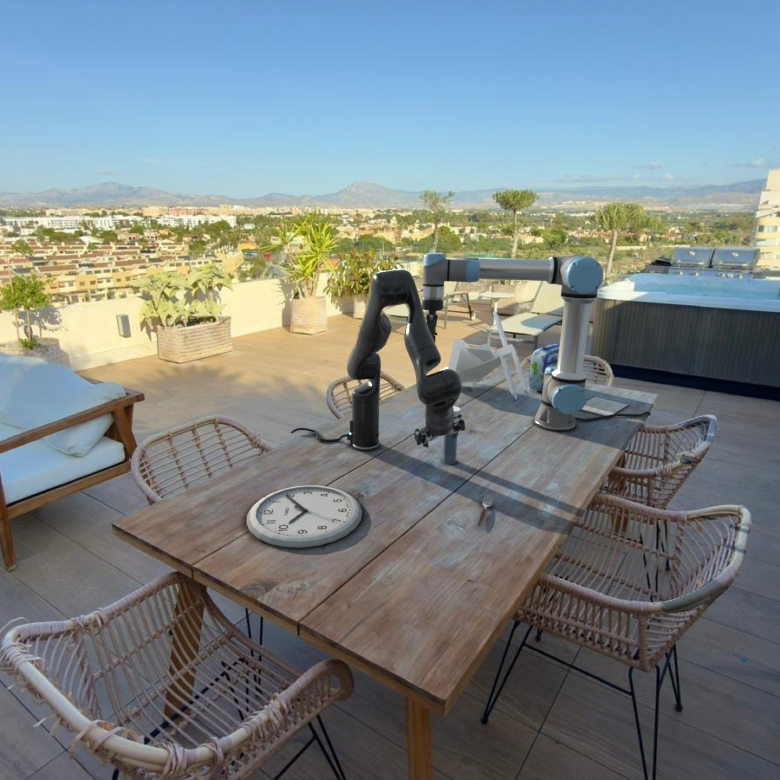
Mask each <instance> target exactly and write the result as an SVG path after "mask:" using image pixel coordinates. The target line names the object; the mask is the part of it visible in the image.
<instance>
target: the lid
mask: <svg viewBox="0 0 780 780" xmlns="http://www.w3.org/2000/svg"><path fill="white" fill-rule="evenodd" d="M453 410H454V417H457V416H458V415H461V408H460V407H459V406H455V405H453Z"/></svg>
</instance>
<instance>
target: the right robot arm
mask: <svg viewBox="0 0 780 780" xmlns="http://www.w3.org/2000/svg"><path fill="white" fill-rule="evenodd" d="M422 264H423V265H422V288H420V292H421V293H422V294H421V296H422V299H421V304H422V308H423V311H428V313H426V316H425V319H426V323H427V326H428V329H429V331H430V334H431V336H432V338H433V340H434V342H435V343H436V338H437V337H436V336H438V332H437V329H436V328H437V324H438V318H439V315H438V314H437V311H438V312H439V311H442V310H444V299H443V298H444V297H445V282H447V283H449V282H452V283H453V282H457V283H468V284H470V283H477V282H479V281H480V280H495V281H497V280H499V281H500V280H501V281H526V282H527V281H531V282H546V283H547V284H548V285H557V286H561V289H560V298H561V299H562V300H563V303H564V305H563V313H562V322H561V330H560V339H559V345H560V346H559V355H558V364H557V366H553V367H547V368H546V369H545V373H544V382H543V392H542V391H541V393H542V394H541V402H540V405H539V407H538V410H537V411H536V413H535V417H534V424H535V425H536V426H537V427H539V428H542V429H544V430H549V431H556V432H567V431H572V430H574V429H575V428H576V421H581V422H591V421H596V420H602V419H609V418H615V417H642V416H644V415H648V416H652V413H651V412H650V411H648V410H645V411H644V412H641V413H614V414H612V415H606V416H604V415H600V416H595V417H588V418H587V417H586V418H584V417H577V416H575V414H576V413H579V412H580V411H582V410H581V409H582V408H583V407H584V406H585V404H586V401H588V397H587V392H586V389H585V388H586V383H587V382H586V381H587V375H586V374H585V373H584V371H583V369H584V361H585V355H586V347H587V339H588V338H587V337H588V330H589V324H590V318H591V317H590V316H591V308H592V303H593V302H594V301H596V300H597V298H598V294H599V293H598V291H599V288H601V285H602V284H603V281H604V269H603V267H602V265H601V264H600V262H599V261H597V260H596V259H595V258H594V257H592V256H587V255H581V254H574V255H573V254H572V255H565V256H551V257H549V258H548V259H545V258H544V259H543V258H542V259H541V258H540V259H539V258H501V257H500V258H497V257H496V258H495V257H494V258H492V257H466V256H460V257H457V258H455V259H451V258H449V259H448V258H447V257H446V253H444V252H427V253H425V254H424V255H423V263H422Z"/></svg>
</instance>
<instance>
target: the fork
mask: <svg viewBox="0 0 780 780" xmlns="http://www.w3.org/2000/svg"><path fill="white" fill-rule="evenodd" d="M487 492H488V491H487ZM487 492H485V494H484V497H483V500H482V506H483V507H484V508H483V509H482V511H481V512H480V515H479V520H478V525H477V526H478V527H480V525H481V523H482V522H483V520H484V519H485V516H486V511H487V508H489V507H492V505H493V500H494V493H490V494H489V492H488V493H487ZM486 494H487V495H486Z"/></svg>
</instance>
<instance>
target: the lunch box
mask: <svg viewBox="0 0 780 780" xmlns="http://www.w3.org/2000/svg"><path fill="white" fill-rule="evenodd" d="M559 346H560V343H559V344H558V343H553V344H548V345H546V346H542V347H540V348H537V349H535V350H534V351H533V352H532V354H531V357H530V362H529V374H528V375H529V376H528V387H529V388H528V389H530V390H534V391H539V392H541V393H542V392H543V382H544V373H545V369H546V368H547V367H553V366H557V364H558V355H559Z"/></svg>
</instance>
